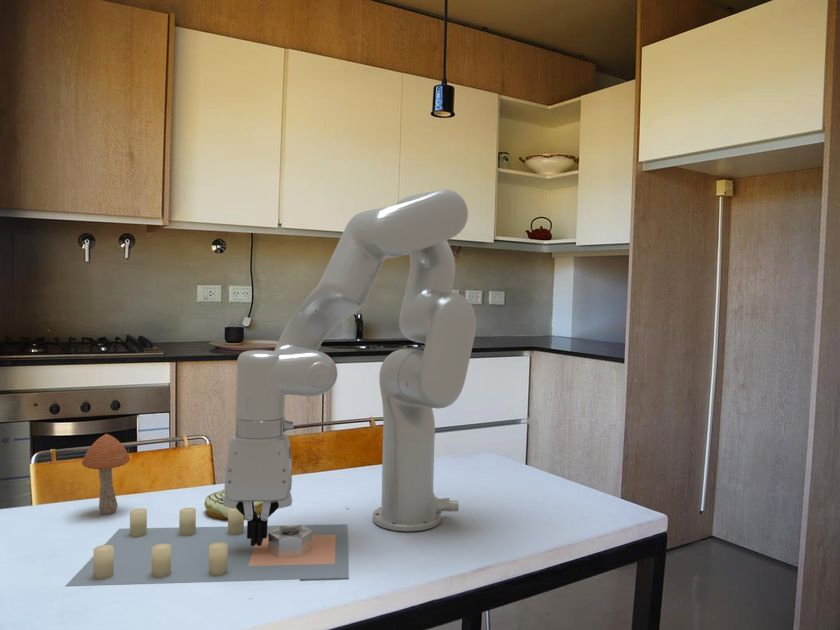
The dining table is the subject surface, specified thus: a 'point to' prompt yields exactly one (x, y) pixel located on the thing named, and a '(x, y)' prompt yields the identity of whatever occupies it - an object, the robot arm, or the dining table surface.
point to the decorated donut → (218, 509)
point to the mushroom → (106, 468)
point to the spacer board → (208, 554)
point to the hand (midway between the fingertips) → (257, 542)
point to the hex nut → (290, 541)
